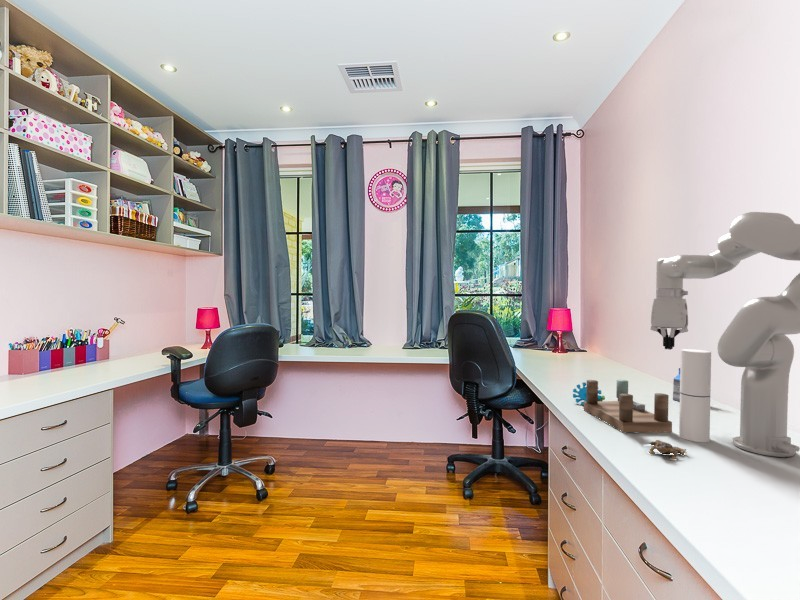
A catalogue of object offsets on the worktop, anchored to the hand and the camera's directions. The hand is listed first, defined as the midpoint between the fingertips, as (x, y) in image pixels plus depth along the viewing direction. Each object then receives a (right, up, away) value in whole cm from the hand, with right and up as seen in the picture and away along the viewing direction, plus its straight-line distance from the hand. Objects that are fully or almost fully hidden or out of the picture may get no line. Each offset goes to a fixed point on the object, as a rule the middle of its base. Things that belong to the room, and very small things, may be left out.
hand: (668, 348), depth 142 cm
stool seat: (-18, -23, -5) cm, 29 cm away
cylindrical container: (-6, -23, -21) cm, 32 cm away
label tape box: (+19, -23, +18) cm, 34 cm away
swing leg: (-12, -19, +1) cm, 23 cm away
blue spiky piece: (-20, -23, +15) cm, 34 cm away
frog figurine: (-22, -24, -33) cm, 46 cm away
